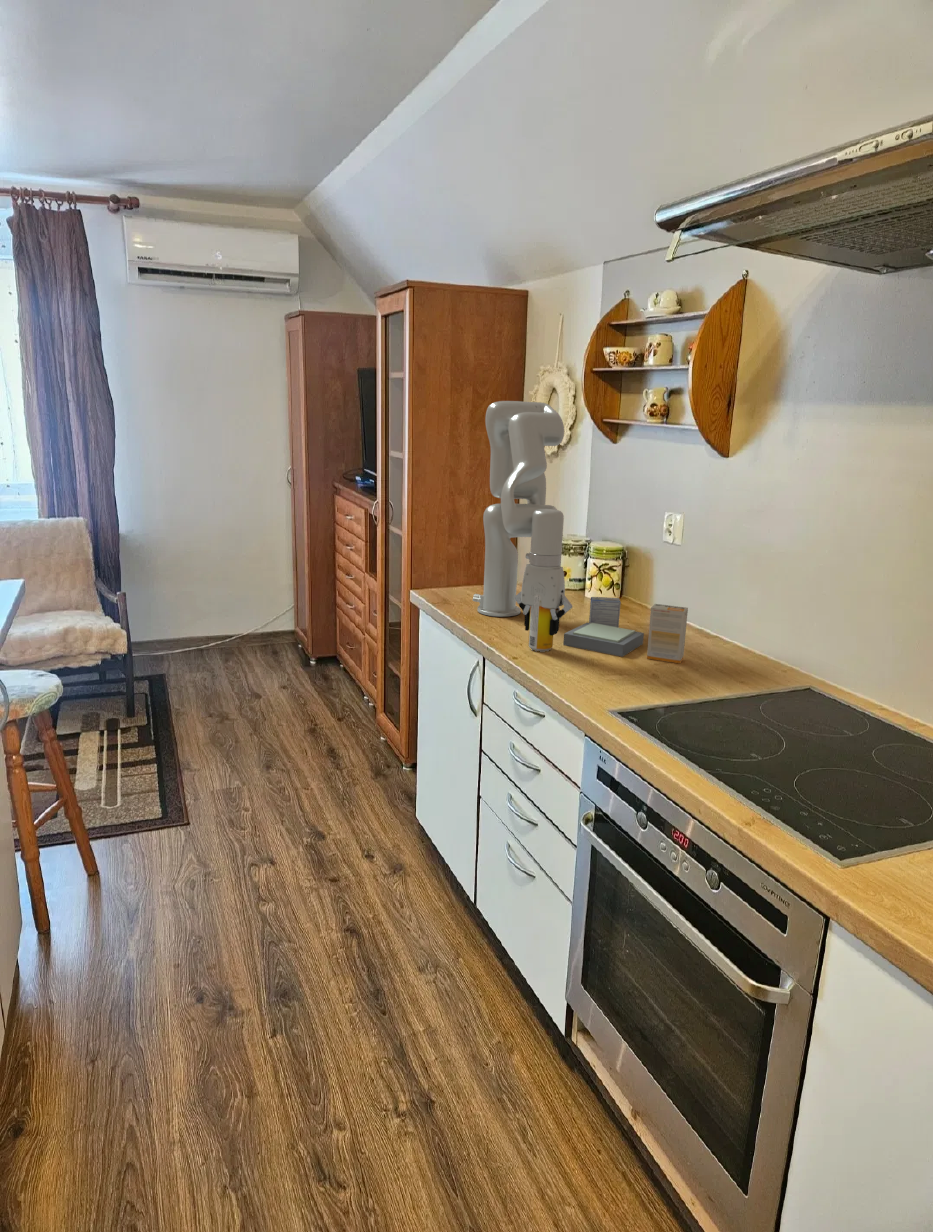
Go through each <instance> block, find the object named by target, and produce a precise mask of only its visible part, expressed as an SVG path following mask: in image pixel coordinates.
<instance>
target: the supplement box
mask: <svg viewBox="0 0 933 1232" xmlns="http://www.w3.org/2000/svg"><path fill="white" fill-rule="evenodd" d="M688 611H689V607H684V606H675V605H667V604H659V603H654V604H653V605H651V607H650V616H649V627H648V629H649V630H648V641H647V651H646V659H647V660H654V661H655V660H656V661H662V662H668V663H674V664H681V662H682V661H683V660H684V653H685V644H686V634H687V632H686V631H687V624H688V623H687V621H688V613H689V612H688Z"/></svg>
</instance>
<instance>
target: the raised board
mask: <svg viewBox="0 0 933 1232" xmlns="http://www.w3.org/2000/svg"><path fill="white" fill-rule="evenodd" d="M644 636H645V633H644V632H639V631H636V630H633V629H628V628H622V627H619V628H618V627H613V626H607V625H602V624H596V623H589V622H585V623H583V624H581V625H578V626H577V627H575V628H572V629H571V630H568V631H567V632H565V633H563V642H562V643H563V644H562V645H563V646H567V647H571V648H577V649H583V650H586V649H587V651H591V652H597V653H602V654H607V655H611V656H617V657H622V658H623V657H624V656H626V655H627V654H629V653H630V652H632V651H634V650H636V649H637V648H639V647H640V645H641V646H642V645H643V644H644V638H645V637H644ZM635 648H636V649H635Z"/></svg>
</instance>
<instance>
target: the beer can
mask: <svg viewBox="0 0 933 1232" xmlns="http://www.w3.org/2000/svg"><path fill="white" fill-rule="evenodd" d="M551 619H552V615H551V611H550V609H546V608H543V607H542V597H541V595H539V594H536V596H534V604H533V606H530V621H529V630H528V642H527V647H528V648H529V649H530V648H531V649H532V650H531V649H530V650H531V651H533V650H535V651H534V652H537V651H540V652H539V653H545V651H547V652H550V651H551V650H552V648H553V647H554V646H553V645H554V635H550V634H549V631H550V620H551ZM549 650H550V651H549Z"/></svg>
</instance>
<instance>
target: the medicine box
mask: <svg viewBox="0 0 933 1232" xmlns="http://www.w3.org/2000/svg"><path fill="white" fill-rule="evenodd" d="M621 605H622V602H621V600H620V598H619V597H606V596H605V597H604V596H591V597H590V603H589V619H588V623H596V624H602V625H607V626H613V627H618V628H620V627H619V626H620V625H619V624H620V614H621Z"/></svg>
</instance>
